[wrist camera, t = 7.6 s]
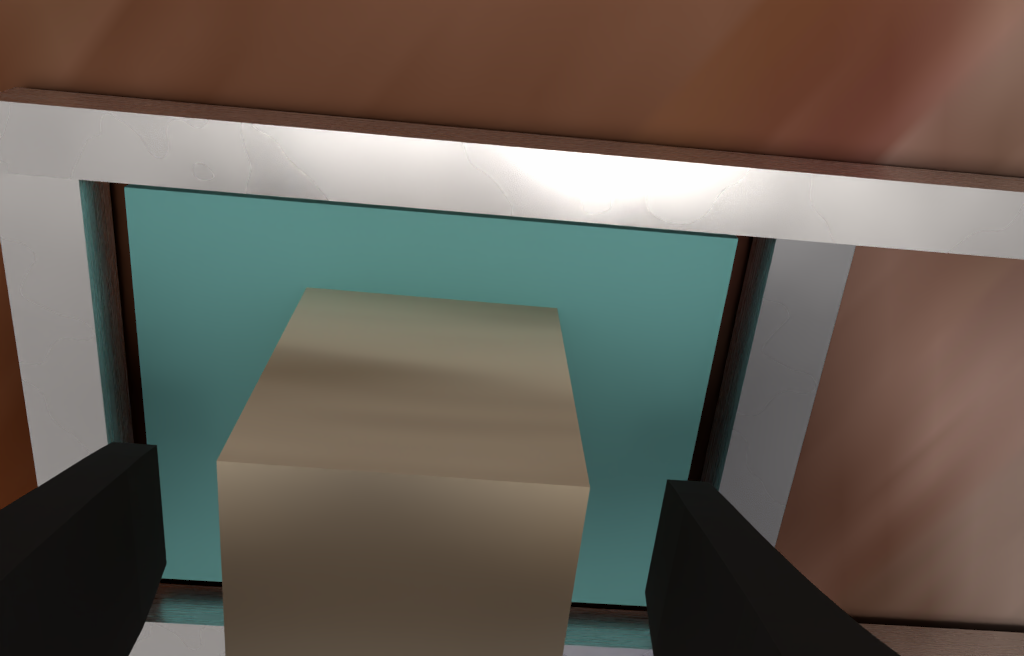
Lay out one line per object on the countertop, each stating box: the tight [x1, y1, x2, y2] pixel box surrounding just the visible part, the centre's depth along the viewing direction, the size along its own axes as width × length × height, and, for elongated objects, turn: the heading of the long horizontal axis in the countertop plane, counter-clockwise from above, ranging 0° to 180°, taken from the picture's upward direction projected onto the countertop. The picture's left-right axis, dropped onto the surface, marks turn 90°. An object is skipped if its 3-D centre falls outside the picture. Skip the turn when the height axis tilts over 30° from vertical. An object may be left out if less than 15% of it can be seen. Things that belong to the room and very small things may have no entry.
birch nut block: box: [217, 287, 590, 656], centre depth 12 cm, size 4×4×5 cm
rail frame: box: [0, 87, 1024, 656], centre depth 15 cm, size 10×24×1 cm, turn 85°
